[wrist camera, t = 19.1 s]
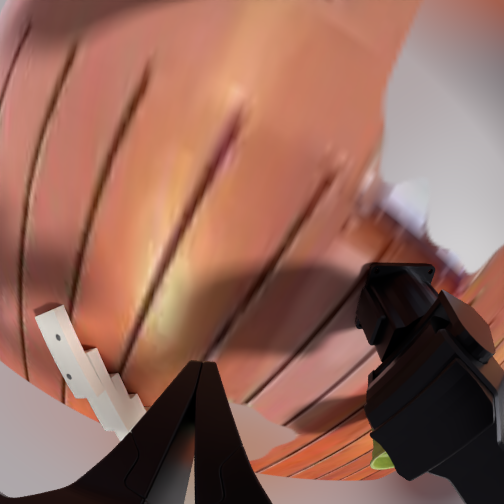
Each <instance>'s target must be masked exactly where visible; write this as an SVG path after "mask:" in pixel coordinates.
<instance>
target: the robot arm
mask: <svg viewBox="0 0 504 504" xmlns="http://www.w3.org/2000/svg"><path fill="white" fill-rule="evenodd" d="M376 268H378V269H377V271H374V270H375V269H376ZM430 269H431V270H430ZM429 270H430V271H429ZM428 271H429V272H428ZM434 273H435V268H434V267H433V266H432V265H431V264H394V263H374V264H372V265H371V266H370V269H369V273H368V277H367V281H366V285H365V287H364V288H363V289H362V292H361V296H360V300H359V304H358V307H357V311H356V314H357V317H356V321H355V325H356V327H357V328H358V329H363V331H364V333H365V335H366V338H367V340H368V343H369V344H370V345H375V347H376V350H377V352H378V355H379V357H380V359H381V362H382V364H381V365H380V366H379V367H378V368H377V369H376V370H375V371H374V370H373V371H372V372H371V373H370V374H369V375H368V389H367V397H366V402H367V403H366V404H365V405H364V411H365V414H366V417H367V419H368V421H369V424H370V426H371V428H372V429H373V430H374V431H372V432H371V433H370V437H371V438H373V439H374V440H375V441H376V442H377V443H379V444H380V445H381V446H382V448H383V449H384V450H385V451H386V453H387V454H388V456H389V457H390V459H391V461H392V463H393V465H394V467H395V469H396V471H397V473H398V474H399V475H401V476H402V477H404V478H405V479H406V480H408V481H412V480H414V479H416V478H417V477H419V476H421V475H423V474H424V473H426V472H427V473H430V474H433V475H436V476H440V477H443V478H446V479H447V480H448V481H449V482H450V483H451V484H452V486H453V487H454V488H455V490H456V491H457V493H458V494H459V496H460V497H461V499H462V500H463V502H464V503H465V504H504V371H503V369H502V368H501V367H500V365H499V364H498V363H497V361H496V360H495V359H494V358H493V355H494V354H495V347H494V343H493V339H492V335H491V331H490V327H489V325H488V324H487V323H486V322H485V320H484V319H483V318H482V317H481V316H480V315H479V314H478V313H477V312H476V311H475V310H474V309H473V308H472V307H471V306H469V305H468V304H466V303H464V302H463V301H461V300H459V299H458V298H456V297H454V296H453V295H451V294H449V293H448V292H446V291H444V290H441V292H440V293H439V294H438V293H437V292H436V290H435V289H434V288H433V287H432V286H431V281H432V278H433V276H434ZM360 323H361V324H360ZM193 458H195V459H194V461H195V464H194V465H195V466H194V472H195V504H272V502H271V501H270V499H269V497H268V496H267V494H266V493H265V491H264V489H263V488H262V486H261V484H260V482H259V481H258V479H257V477H256V475H255V473H254V471H253V469H252V467H251V465H250V462H249V460H248V457H247V455H246V452H245V449H244V447H243V444H242V441H241V439H240V436H239V433H238V430H237V427H236V424H235V421H234V418H233V415H232V412H231V409H230V406H229V403H228V400H227V397H226V394H225V390H224V387H223V384H222V381H221V378H220V374H219V371H218V368H217V364H216V363H215V362H210V361H204V362H202V361H197V360H191V361H189V362H188V363H187V365H186V366H185V367H184V368H183V369H182V371H181V372H180V373H179V374H178V375H177V377H176V378H175V379H174V380H173V381H172V382H171V384H170V385H169V386H168V387H167V388H166V390H165V391H164V392H163V393H162V394H161V396H160V397H159V398H158V399H157V400H156V401H155V403H154V404H153V405H152V406H151V407H150V408H149V410H148V411H147V412H146V413H145V414H144V415H143V417H142V418H141V419H140V420H139V421H138V422H137V424H136V425H135V426H134V427H133V428H132V429H131V432H129V433H128V434H127V435H126V436H125V437H124V438H123V440H122V441H121V442H120V443H119V444H118V445H117V446H116V447H115V448H114V449H113V450H112V451H111V452H110V453H109V454H108V455H107V456H105V457H104V458H103V459H102V460H101V461H100V462H99V463H97V464H96V465H95V466H94V467H93V468H92V469H91V470H89V471H88V472H87V473H86V474H84V475H83V476H82V477H81V478H79V479H78V480H77V481H76V482H74V483H72V484H71V485H69V486H66V487H64V488H61V489H57V490H53V491H48V492H44V493H40V494H35V495H30V496H24V497H18V498H10V497H8V496H6V495H4V494H3V493H1V492H0V504H184V500H185V495H186V491H187V486H188V481H189V477H190V472H191V467H192V463H193Z"/></svg>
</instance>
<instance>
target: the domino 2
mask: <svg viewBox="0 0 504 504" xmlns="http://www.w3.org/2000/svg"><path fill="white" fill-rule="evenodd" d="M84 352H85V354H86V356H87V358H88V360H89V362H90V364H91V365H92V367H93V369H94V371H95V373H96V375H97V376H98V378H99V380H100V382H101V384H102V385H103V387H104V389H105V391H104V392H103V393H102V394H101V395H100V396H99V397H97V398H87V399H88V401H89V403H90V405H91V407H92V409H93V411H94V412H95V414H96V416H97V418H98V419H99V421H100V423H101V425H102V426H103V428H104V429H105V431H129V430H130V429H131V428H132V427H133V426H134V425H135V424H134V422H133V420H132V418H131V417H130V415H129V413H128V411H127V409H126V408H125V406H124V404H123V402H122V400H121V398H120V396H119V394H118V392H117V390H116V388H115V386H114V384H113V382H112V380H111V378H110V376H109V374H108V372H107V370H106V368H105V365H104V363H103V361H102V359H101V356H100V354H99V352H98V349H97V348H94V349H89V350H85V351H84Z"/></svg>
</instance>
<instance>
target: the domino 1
mask: <svg viewBox="0 0 504 504" xmlns="http://www.w3.org/2000/svg"><path fill="white" fill-rule="evenodd" d="M35 319H36V321H37V323H38V326H39V328H40V330H41V333H42V335H43V337H44V339H45V342H46V344H47V346H48V348H49V350H50V352H51V354H52V356H53V358H54V360H55V362H56V364H57V366H58V368H59V370H60V372H61V374H62V375H63V377H64V379H65V381H66V383H67V384H68V386H69V388H70V390H71V391H72V393H73V395H74V396H75V398H97V397H99V396H100V395H101V394H102V393H103V392H104V391H105V389H104V387H103V385H102V384H101V382H100V380H99V378H98V376H97V375H96V373H95V371H94V369H93V367H92V365H91V364H90V362H89V360H88V358H87V356H86V354H85V352H84V350H83V348H82V346H81V344H80V342H79V339H78V337H77V335H76V333H75V331H74V329H73V326H72V324H71V322H70V320H69V317H68V315H67V312H66V310H65V308H64V305H62V306H59V307H57V308H55V309H52V310H50V311H48V312H45V313H43V314H41V315H38V316H36V317H35Z"/></svg>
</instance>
